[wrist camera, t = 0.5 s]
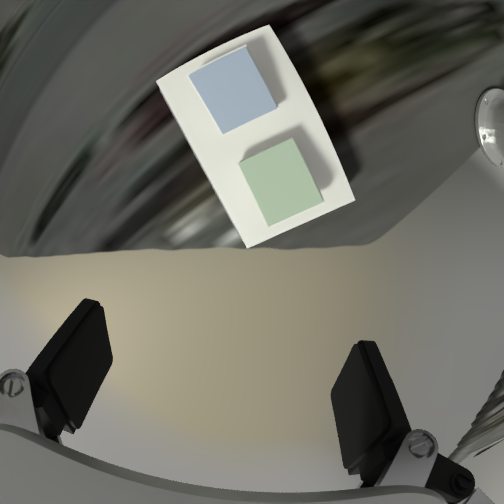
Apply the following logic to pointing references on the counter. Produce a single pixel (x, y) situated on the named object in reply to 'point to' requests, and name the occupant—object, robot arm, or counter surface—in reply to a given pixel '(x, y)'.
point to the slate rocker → (233, 90)
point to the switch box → (257, 135)
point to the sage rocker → (281, 182)
